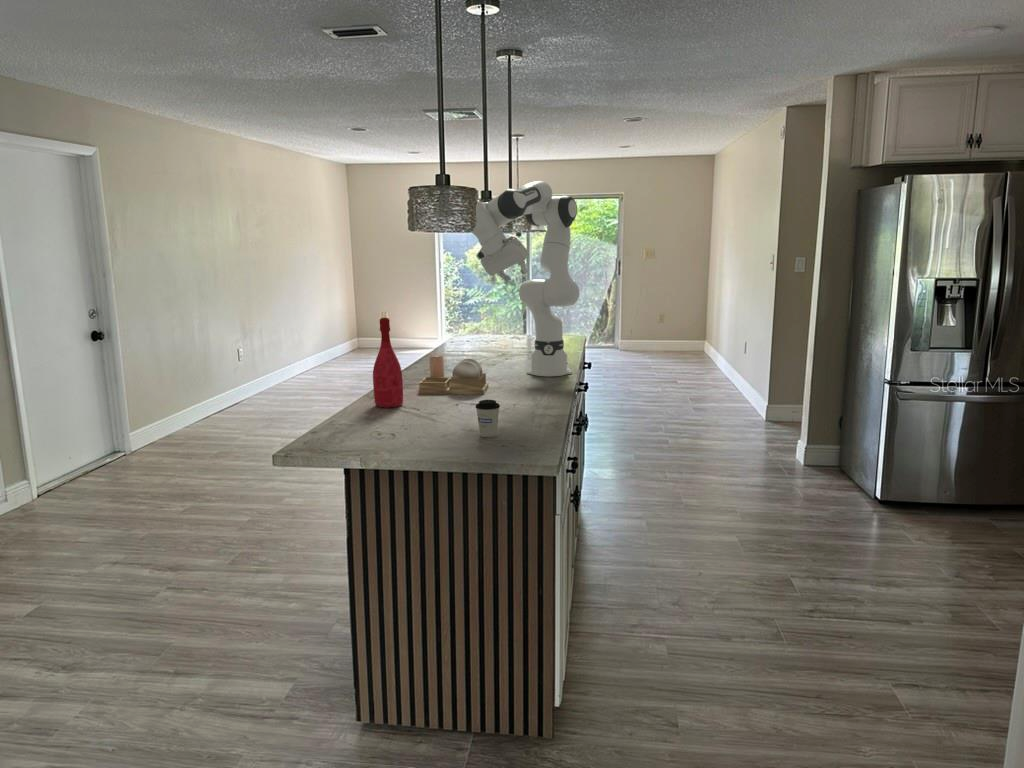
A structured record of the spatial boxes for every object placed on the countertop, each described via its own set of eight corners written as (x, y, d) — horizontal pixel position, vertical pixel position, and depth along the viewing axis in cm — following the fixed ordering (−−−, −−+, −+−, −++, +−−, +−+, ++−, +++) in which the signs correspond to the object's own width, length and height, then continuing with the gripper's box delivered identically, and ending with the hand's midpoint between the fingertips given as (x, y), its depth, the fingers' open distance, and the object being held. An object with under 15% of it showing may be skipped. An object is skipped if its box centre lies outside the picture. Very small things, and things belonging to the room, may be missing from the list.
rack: (426, 386, 263) (425, 357, 261) (488, 386, 261) (487, 357, 259) (418, 394, 251) (417, 363, 248) (483, 394, 248) (482, 363, 246)
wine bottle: (369, 407, 231) (363, 319, 225) (382, 401, 240) (378, 315, 234) (395, 409, 228) (391, 319, 222) (408, 402, 237) (404, 316, 231)
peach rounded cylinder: (432, 382, 272) (430, 354, 270) (445, 382, 271) (444, 354, 269) (428, 385, 267) (427, 357, 264) (442, 385, 266) (441, 357, 264)
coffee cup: (487, 431, 200) (486, 397, 198) (505, 435, 195) (505, 400, 193) (471, 436, 194) (470, 402, 192) (489, 440, 190) (488, 405, 188)
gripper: (519, 230, 235) (540, 263, 239) (483, 249, 250) (504, 280, 254) (509, 238, 231) (531, 272, 235) (473, 257, 247) (494, 289, 251)
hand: (516, 277), depth 245 cm, fingers open, 8 cm apart
